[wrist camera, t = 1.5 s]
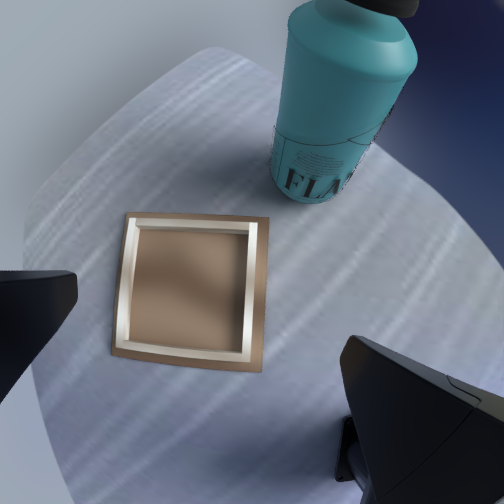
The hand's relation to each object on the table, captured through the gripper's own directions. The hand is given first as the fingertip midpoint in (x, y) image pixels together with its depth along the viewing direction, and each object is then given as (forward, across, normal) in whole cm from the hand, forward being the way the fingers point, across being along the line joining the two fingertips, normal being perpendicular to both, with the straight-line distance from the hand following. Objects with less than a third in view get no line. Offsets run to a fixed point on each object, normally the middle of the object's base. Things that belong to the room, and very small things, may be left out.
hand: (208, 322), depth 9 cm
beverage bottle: (+18, +5, +3) cm, 19 cm away
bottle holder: (+13, -2, -6) cm, 15 cm away
